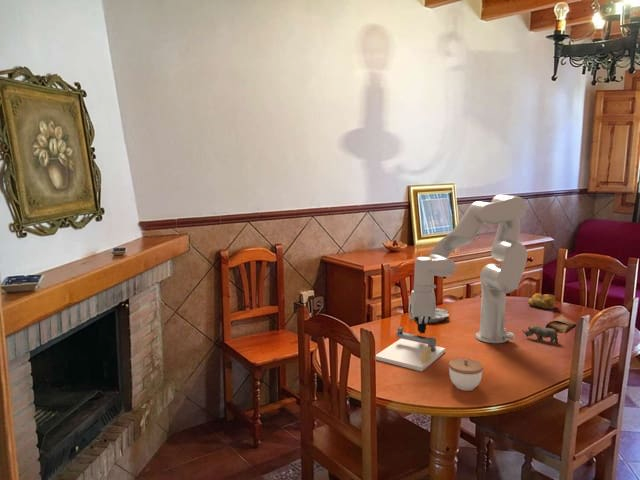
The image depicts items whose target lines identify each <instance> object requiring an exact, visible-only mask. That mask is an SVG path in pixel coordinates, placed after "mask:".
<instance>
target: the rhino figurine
mask: <svg viewBox="0 0 640 480" xmlns="http://www.w3.org/2000/svg"><path fill="white" fill-rule="evenodd" d="M527 329H528V330H527ZM527 329H526V330H525V331H524V330H522V332H523V333H524V335H525V337H531V336H533V335H536V338H537V339H536V340H535V341H536V342H540V341H543V340H544V338H545V339H547V338H549V339H550V341H548V344H549V345H553V344H559V342H558V340H559V338H558V332H556V330H554V329H551V328H546V327H542V326H539V325H535V326H532V327H531V326H528V327H527Z"/></svg>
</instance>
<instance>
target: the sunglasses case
mask: <svg viewBox="0 0 640 480" xmlns="http://www.w3.org/2000/svg"><path fill="white" fill-rule="evenodd" d="M576 324H577V323H576V322H575V321H572V320H571V319H569V318H568V317H565V316H564V315H563V314H560V315H558V316H557V317H554V318H553V319H552V320H550V321H549V322H547V323H546V325H545V328H551V329H554V330H556V332H557V334H558V333H560V334H563V335H565V334H567V332H568V331H569V330H571V329H572V328H574V327H575V326H577V325H576Z"/></svg>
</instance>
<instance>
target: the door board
mask: <svg viewBox="0 0 640 480" xmlns="http://www.w3.org/2000/svg"><path fill="white" fill-rule="evenodd" d="M444 353H446V348H445V347H441V346H437V345H436V350H435V351H431V347H428V344H426V343H421V342H417V341H412V340H407V339H403V338H398V340H397V341H395V342H393V343H392V344H391V345H389V346H387V347H385V348H384V349H383V350H381V351H380V352H379V353H376V361H380V362H384V363H387V364H391V365H396V366H399V367H403V368H406V369H407V368H408V369H410V370H413V371H414V370H415V371H419V372H423V371H424V370H426V369H427V368H428V367H429V366H430V365H432V364H433V363H434V362H436V360H438V358H440V357H441V356H442V355H444Z"/></svg>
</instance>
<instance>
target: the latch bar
mask: <svg viewBox="0 0 640 480" xmlns="http://www.w3.org/2000/svg"><path fill="white" fill-rule="evenodd" d="M403 330H404V329H403V327H401V326H399V327H397V332H396V336H395V337H396V338H398V339H405V340H410V341H415V342H419V343H424V344H428V347H431V351H435V350H436V346H437V338H436V337H431V336H430V337H427V336H423V335H418V334H412V333H409V332H408V333H407V332H404V331H403Z"/></svg>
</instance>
